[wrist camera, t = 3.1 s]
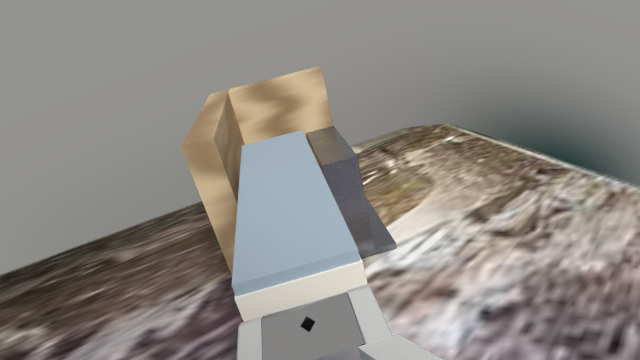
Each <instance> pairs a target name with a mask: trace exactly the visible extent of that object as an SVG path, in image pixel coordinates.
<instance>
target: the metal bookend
mask: <svg viewBox="0 0 640 360" xmlns="http://www.w3.org/2000/svg"><path fill="white" fill-rule="evenodd" d="M306 134H307V138H308V142H309V145H310V148H311V150H312V152H313V154H314V156H315V158H316V160H317V163H318V165H319V167H320V169H321V171H322V173H323V175H324V178H325V180H326V182H327V184H328V186H329V188H330V190H331V193H332V195H333V197H334V199H335V201H336V203H337V205H338V207H339V210H340V212H341V214H342V216H343V218H344V220H345V222H346V225H347V227H348V229H349V231H350V233H351V235H352V237H353V240H354V242H355V244H356V246H357V248H358V252H359V255H360V258H365V257H368V256H372V255H375V254H379V253H382V252H385V251H389V250H392V249H396V243H395V241H394V240H393V238H392V236H391V235H390V233H389V232H388V230H387V229H386V227H385V226H384V224H383V223H382V221H381V220H380V218H379V216H378V215H377V213H376V212H375V210H374V209H373V207H372V206H371V204H370V203H369V201H368V200H367V198H365V194H364V189H363V183H362V178H361V173H360V168H359V163H358V158H357V155H356V154H355V153H354V151H353V150H352V149H351V147H350V146H349V145H348V144H347V142H346V141H345V140H344V139H343V137H342V136H341V135H340V134H339V132H338V131H337V130H336V128H335V127H334V126H330V127H327V128H323V129H319V130H315V131H312V132H308V133H306Z"/></svg>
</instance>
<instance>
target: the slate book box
mask: <svg viewBox="0 0 640 360" xmlns="http://www.w3.org/2000/svg"><path fill="white" fill-rule="evenodd" d="M365 284H367V280H366V276H365V271H364V266H363V262H362V260H361V258H360V255H359V252H358V248H357V246H356V244H355V242H354V240H353V237H352V235H351V233H350V231H349V229H348V227H347V225H346V222H345V220H344V218H343V216H342V214H341V212H340V210H339V207H338V205H337V203H336V201H335V199H334V197H333V195H332V193H331V190H330V188H329V186H328V184H327V182H326V180H325V178H324V175H323V173H322V171H321V169H320V167H319V165H318V163H317V160H316V158H315V156H314V154H313V152H312V150H311V148H310V145H309V143H308V141H307V139H306V137H305V135H304V133H303V130H300V131H296V132H292V133H289V134H285V135H281V136H277V137H273V138H270V139H266V140H262V141H258V142H254V143H251V144H247V145H243V146H242V152H241V165H240V179H239V192H238V206H237V219H236V233H235V246H234V260H233V273H232V288H233V290H234V293H235V301H236V304H237V306H238V309H239V311H240V314H241V316H242V319H243V321H244V322H245V321H249V320H252V319H256V318H259V317H263V316H265V315H269V314H272V313H276V312H279V311H283V310H286V309H290V308H293V307H297V306H300V305H304V304H308V303H311V302H314V301H317V300H320V299H323V298H327V297H330V296H333V295H336V294H339V293H343V292H347V290H350V289H353V288H356V287H359V286H362V285H365Z"/></svg>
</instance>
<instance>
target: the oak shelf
mask: <svg viewBox="0 0 640 360" xmlns="http://www.w3.org/2000/svg"><path fill="white" fill-rule="evenodd" d="M330 126H333V121H332V117H331V112H330V107H329V102H328V98H327V93H326V89H325V84H324V79H323V74H322V70H321V68H319V67H315V68H311V69H307V70H303V71H299V72H295V73H292V74H288V75H283V76H280V77H276V78H272V79H268V80H264V81H260V82H256V83H252V84H248V85H244V86H241V87H236V88H232V89H228V90H224V91H221V92H217V93H213V94H210V96H209V97H208V99H207V101H206V103H205V104H204V106H203V108H202V110H201V111H200V113H199V115H198V117H197V119H196V120H195V122H194V124H193V126H192V128H191V130H190V131H189V133H188V135H187V136H186V138H185V140H184V142H183V144H182V145H181V148H182V151H183V153H184V156H185V158H186V161H187V163H188V166H189V168H190V171H191V173H192V176H193V178H194V181H195V184H196V186H197V188H198V191H199V194H200V196H201V199H202V201H203V204H204V206H205V209H206V211H207V214H208V217H209V219H210V222H211V224H212V227H213V229H214V232H215V234H216V237H217V239H218V242H219V244H220V247H221V250H222V252H223V255H224V257H225V260H226V262H227V265H228V267H229V270H230V272H231V275H232V273H233V260H234V246H235V233H236V219H237V206H238V192H239V179H240V165H241V152H242V146H243V145H247V144H251V143H254V142H258V141H262V140H266V139H270V138H273V137H277V136H281V135H285V134H289V133H292V132H296V131H300V130H303V133H304V135H305V137H306V139H307V141H308V138H307V134H306V133H308V132H312V131H315V130H319V129H323V128H327V127H330ZM308 143H309V142H308Z"/></svg>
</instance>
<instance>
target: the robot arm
mask: <svg viewBox="0 0 640 360" xmlns="http://www.w3.org/2000/svg"><path fill="white" fill-rule="evenodd" d="M237 360H443V359H441V358H440V357H438V356H436V355H434V354H433V353H431V352H429V351H427V350H426V349H424V348H422V347H421V346H419V345H417V344H415V343H414V342H412V341H410V340H408V339H407V338H405V337H403V336H401V335H400V334H398V335H394V336H392V334H391V332H390V330H389V328H388V326H387V323H386V321H385V319H384V317H383V314H382V312H381V310H380V308H379V306H378V303H377V301H376V299H375V297H374V294H373V292H372V290H371V288H370V286H369V285H368V284H365V285H362V286H359V287H356V288H353V289H350V290H347V292H343V293H339V294H336V295H333V296H330V297H327V298H323V299H320V300H317V301H314V302H311V303H308V304H304V305H300V306H297V307H293V308H290V309H286V310H283V311H279V312H276V313H272V314H269V315H265V316H263V317H259V318H256V319H252V320H249V321H245V322H242V323H240V325H239V328H238V342H237Z"/></svg>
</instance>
